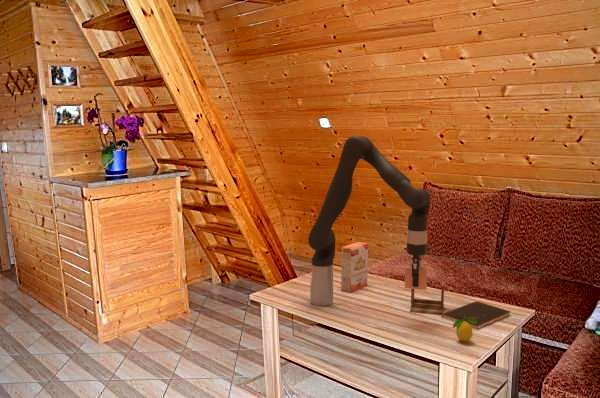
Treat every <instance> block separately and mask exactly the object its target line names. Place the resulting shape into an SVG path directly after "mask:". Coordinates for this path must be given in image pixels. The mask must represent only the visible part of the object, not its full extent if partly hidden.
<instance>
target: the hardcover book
mask: <svg viewBox="0 0 600 398" xmlns="http://www.w3.org/2000/svg"><path fill="white" fill-rule="evenodd" d="M511 312H512V311H511V310H507V309H504V308H501V307H497V306H494V305H491V304H488V303H484V302H480V301H479V300H478V301H477V300H476V301H474V302H473V301H472V302H470V303H468V304H465V305H462V306H460V307H457V308H453V309H452V310H449V311H445V312H443V314H442V315H440V316H441V318H442V319H445V318H446V320H448V319H449V320H448V321H451V320H452V322H454V321H457V320H459V319H461V320H463V319H464V315H465V321H466V322H468V323H469V324H470V325H471V327H472V329H474V328H475V329H474V330H478V329H480V328H479V327H481V326H483V327H485V326H487V325H486V324H488V323H490V324H492V323H494V322H493V321H495V320H497V319H499V320H501V319H500V318H502V317H504V318H506V317H508V316H507V315H509V316H510V313H511ZM505 316H506V317H505ZM467 317H473V318H475V319H476V321H477V323H476V324H473V323H471V322H469V321H468V319H467ZM502 319H503V318H502ZM463 321H464V320H463ZM497 321H498V320H497ZM491 322H492V323H491ZM495 322H496V321H495ZM484 325H485V326H484ZM488 325H489V324H488ZM477 328H478V329H477ZM481 328H482V327H481Z"/></svg>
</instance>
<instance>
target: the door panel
mask: <svg viewBox="0 0 600 398" xmlns="http://www.w3.org/2000/svg"><path fill="white" fill-rule="evenodd" d="M404 269H405V271H404V289H408V290H409V289H414V290H420V291H421V290H422V291H427V288H428V287H427V284H428V267H425V266H421V270H420V272H419V283H418V287H413V286H412V283H413V277H412V271H411V266H410V265H406V266H405V267H404ZM414 274H417V273H414Z"/></svg>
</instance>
